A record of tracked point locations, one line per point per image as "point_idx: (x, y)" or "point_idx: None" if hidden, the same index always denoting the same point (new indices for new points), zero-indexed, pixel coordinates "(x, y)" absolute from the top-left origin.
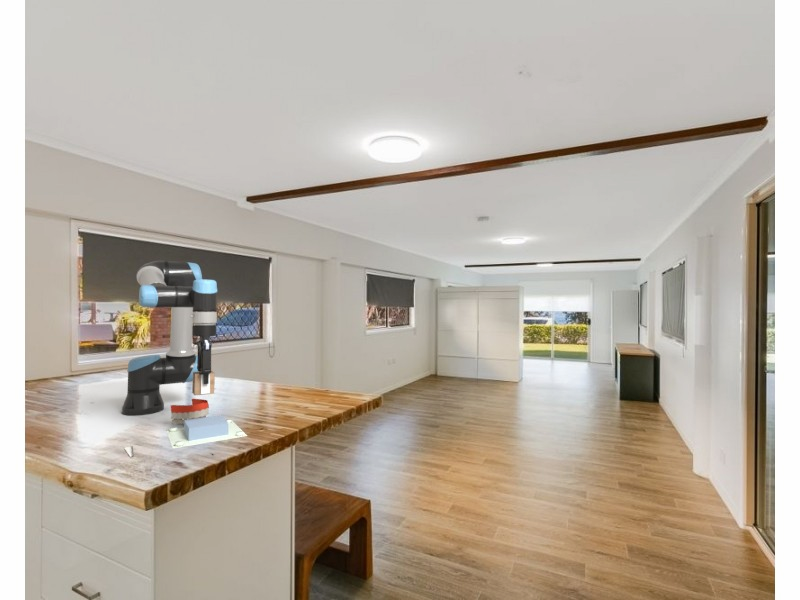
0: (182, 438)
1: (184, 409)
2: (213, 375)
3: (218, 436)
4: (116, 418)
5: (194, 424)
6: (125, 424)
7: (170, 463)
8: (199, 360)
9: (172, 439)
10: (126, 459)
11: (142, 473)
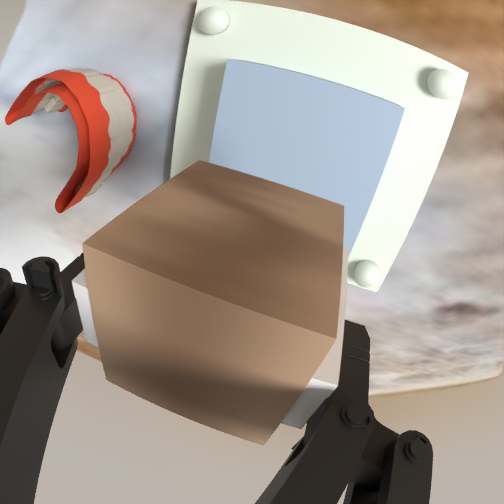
0: None
1: (94, 176)
2: (333, 325)
3: None
4: (7, 238)
5: None
6: (45, 245)
7: (444, 318)
8: (42, 449)
9: None
10: None
11: (437, 363)
